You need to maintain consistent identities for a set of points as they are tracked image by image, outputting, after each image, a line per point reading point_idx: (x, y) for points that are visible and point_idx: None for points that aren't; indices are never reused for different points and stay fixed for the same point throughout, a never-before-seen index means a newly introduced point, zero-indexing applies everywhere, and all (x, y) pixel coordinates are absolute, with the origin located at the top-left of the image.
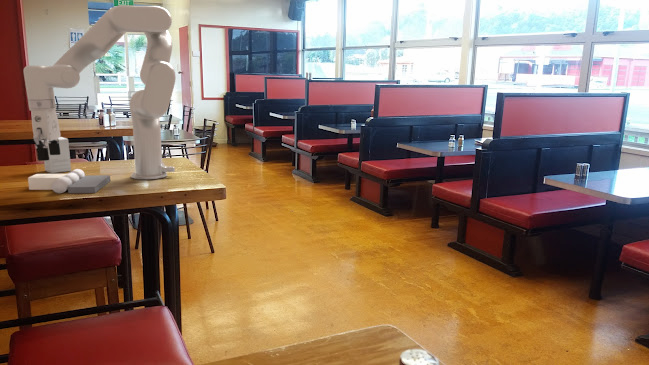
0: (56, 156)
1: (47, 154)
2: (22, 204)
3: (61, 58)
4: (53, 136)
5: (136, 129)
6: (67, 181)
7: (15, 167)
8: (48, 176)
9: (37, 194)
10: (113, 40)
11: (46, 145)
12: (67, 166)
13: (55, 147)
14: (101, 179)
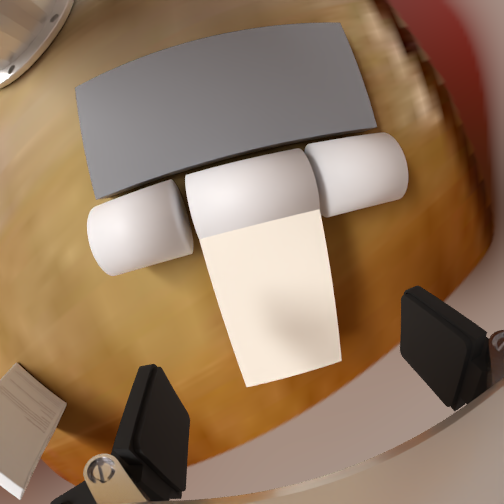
0: (24, 427)
1: (444, 308)
2: (485, 209)
3: None
4: (498, 448)
5: None
6: (361, 139)
7: (79, 480)
8: (298, 297)
9: (394, 247)
10: None
11: (492, 358)
12: (16, 378)
13: (160, 433)
14: (175, 58)
